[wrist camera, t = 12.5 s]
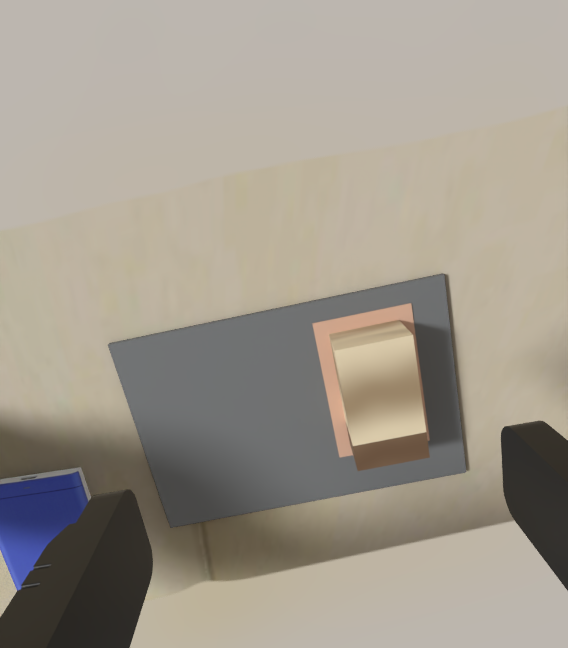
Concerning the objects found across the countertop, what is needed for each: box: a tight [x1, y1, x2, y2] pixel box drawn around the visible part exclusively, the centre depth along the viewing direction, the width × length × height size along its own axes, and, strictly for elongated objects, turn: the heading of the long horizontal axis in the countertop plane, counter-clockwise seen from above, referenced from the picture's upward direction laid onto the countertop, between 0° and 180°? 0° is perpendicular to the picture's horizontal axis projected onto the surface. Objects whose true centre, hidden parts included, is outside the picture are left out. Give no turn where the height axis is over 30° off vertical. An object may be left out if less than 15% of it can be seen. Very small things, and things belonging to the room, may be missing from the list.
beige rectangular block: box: [329, 320, 430, 471], centre depth 31 cm, size 9×5×4 cm, turn 12°
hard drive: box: [0, 467, 91, 591], centre depth 37 cm, size 2×8×12 cm
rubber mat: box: [108, 274, 466, 528], centre depth 34 cm, size 24×16×1 cm, turn 102°
